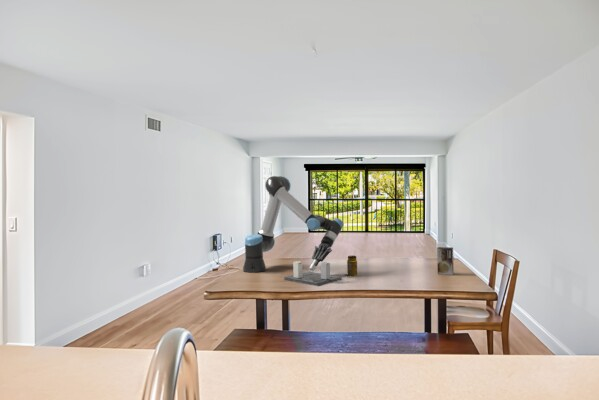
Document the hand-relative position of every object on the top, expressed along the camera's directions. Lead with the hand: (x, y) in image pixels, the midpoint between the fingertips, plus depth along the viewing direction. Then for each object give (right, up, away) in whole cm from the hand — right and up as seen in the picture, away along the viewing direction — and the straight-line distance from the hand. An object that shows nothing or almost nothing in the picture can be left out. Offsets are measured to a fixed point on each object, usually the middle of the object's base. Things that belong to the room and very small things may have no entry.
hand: (311, 269), depth 262 cm
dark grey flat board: (+1, -5, -8) cm, 9 cm away
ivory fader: (-8, -3, -8) cm, 12 cm away
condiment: (+24, -4, +2) cm, 25 cm away
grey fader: (+8, -3, -13) cm, 16 cm away
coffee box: (+82, -3, +2) cm, 83 cm away
